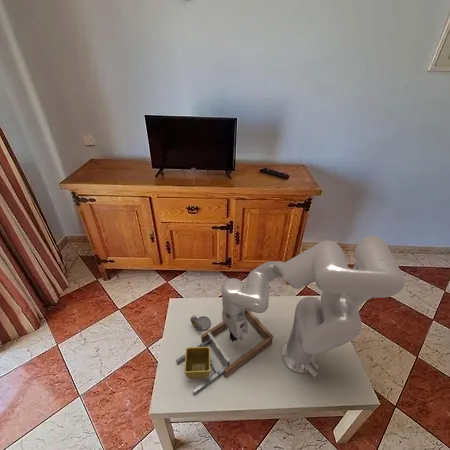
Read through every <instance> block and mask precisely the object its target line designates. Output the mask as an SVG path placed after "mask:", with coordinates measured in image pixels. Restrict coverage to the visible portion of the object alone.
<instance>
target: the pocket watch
mask: <svg viewBox="0 0 450 450" xmlns="http://www.w3.org/2000/svg"><path fill="white" fill-rule="evenodd" d="M189 320H190V322H191V325H192V326H193V328H194V329H196V331H198V332H203V331H206V330H207V331H208V329H210V328H211V324H212V323H211V318H209V317H208V316H204V315H203V316H199V317H197V316H196V314H193V315H192V316H191V317H190V319H189Z"/></svg>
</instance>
